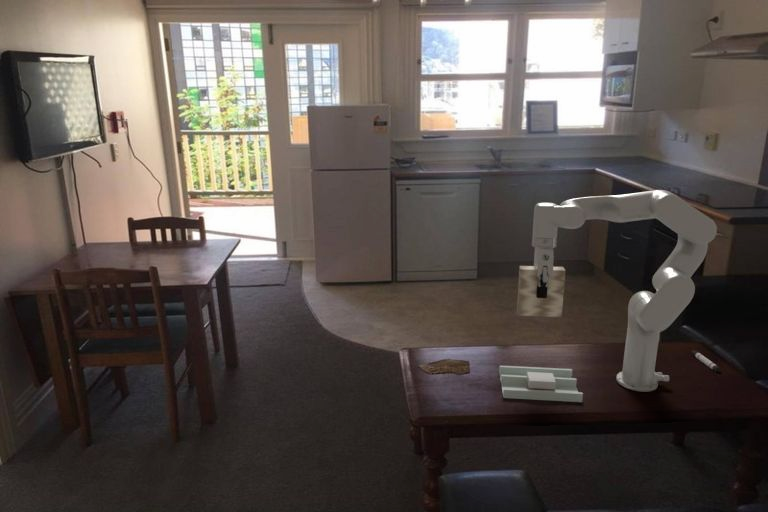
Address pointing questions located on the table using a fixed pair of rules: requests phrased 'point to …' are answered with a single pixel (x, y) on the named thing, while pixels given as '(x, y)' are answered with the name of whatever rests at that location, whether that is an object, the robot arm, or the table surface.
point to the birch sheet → (528, 292)
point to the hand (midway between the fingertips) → (540, 294)
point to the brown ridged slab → (447, 366)
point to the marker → (706, 361)
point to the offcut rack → (516, 388)
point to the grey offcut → (541, 380)
